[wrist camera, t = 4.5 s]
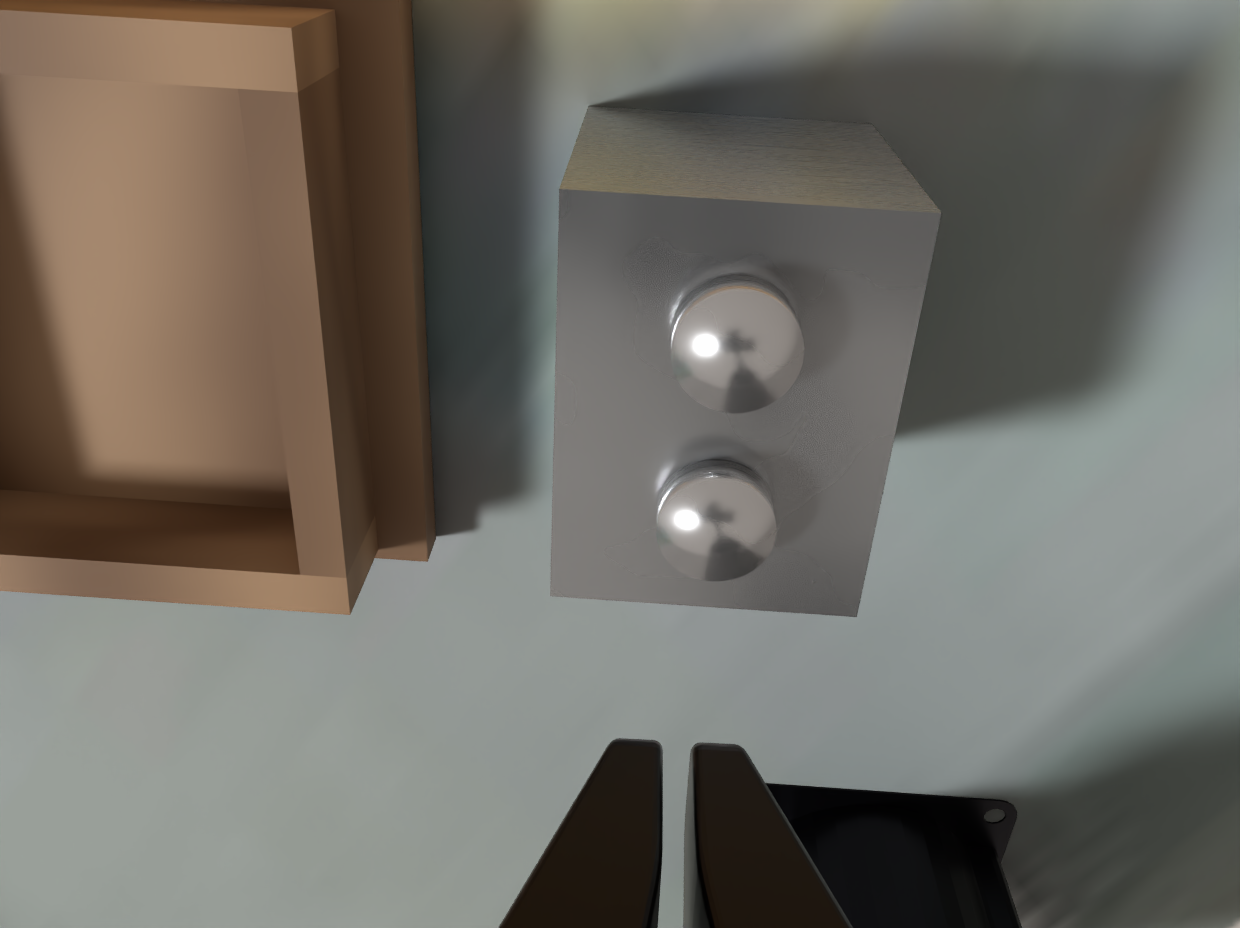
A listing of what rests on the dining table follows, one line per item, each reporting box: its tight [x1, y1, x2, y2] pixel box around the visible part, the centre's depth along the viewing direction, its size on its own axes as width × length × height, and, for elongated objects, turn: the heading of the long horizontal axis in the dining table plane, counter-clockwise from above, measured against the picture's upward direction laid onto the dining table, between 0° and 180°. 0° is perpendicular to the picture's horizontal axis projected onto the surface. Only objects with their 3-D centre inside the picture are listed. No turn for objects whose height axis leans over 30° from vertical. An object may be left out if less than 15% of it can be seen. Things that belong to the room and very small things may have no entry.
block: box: [550, 106, 942, 617], centre depth 16 cm, size 6×4×6 cm
